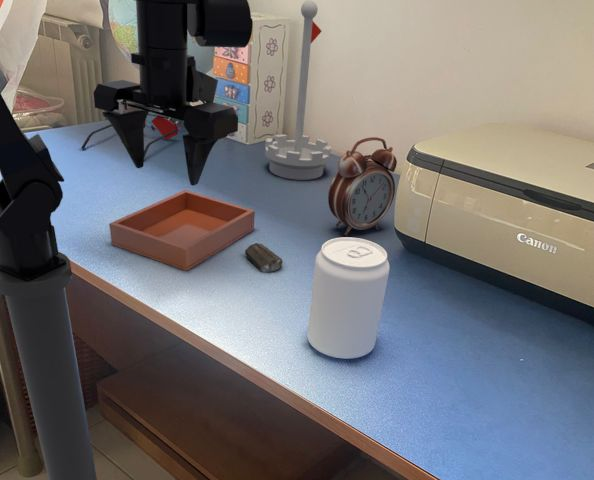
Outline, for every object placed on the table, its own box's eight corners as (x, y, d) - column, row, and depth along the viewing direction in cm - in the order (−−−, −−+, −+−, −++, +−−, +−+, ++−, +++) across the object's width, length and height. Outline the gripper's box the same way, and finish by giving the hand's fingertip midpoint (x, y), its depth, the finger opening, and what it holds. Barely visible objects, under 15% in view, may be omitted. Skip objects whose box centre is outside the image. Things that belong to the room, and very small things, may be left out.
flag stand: (307, 186, 112) (324, 6, 95) (251, 170, 117) (258, -4, 100) (339, 170, 122) (360, 3, 104) (286, 155, 127) (297, -6, 109)
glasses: (181, 141, 129) (180, 117, 126) (142, 161, 116) (141, 136, 113) (124, 130, 132) (122, 107, 129) (81, 149, 119) (77, 124, 116)
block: (261, 252, 88) (262, 240, 87) (285, 268, 84) (286, 257, 83) (241, 257, 86) (241, 245, 85) (265, 274, 82) (265, 262, 81)
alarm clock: (339, 240, 94) (352, 145, 85) (322, 228, 97) (332, 135, 88) (390, 229, 99) (408, 138, 90) (372, 218, 102) (387, 130, 93)
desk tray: (186, 271, 81) (185, 249, 79) (111, 244, 86) (109, 223, 84) (254, 230, 94) (254, 210, 92) (185, 208, 99) (185, 189, 97)
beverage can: (292, 339, 70) (301, 247, 63) (338, 317, 75) (350, 229, 68) (343, 371, 65) (358, 276, 58) (388, 346, 70) (407, 255, 63)
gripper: (266, 53, 72) (258, 179, 81) (148, 29, 78) (152, 147, 87) (211, 62, 63) (209, 200, 72) (84, 34, 70) (97, 164, 79)
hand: (166, 175), depth 78 cm, fingers open, 9 cm apart
